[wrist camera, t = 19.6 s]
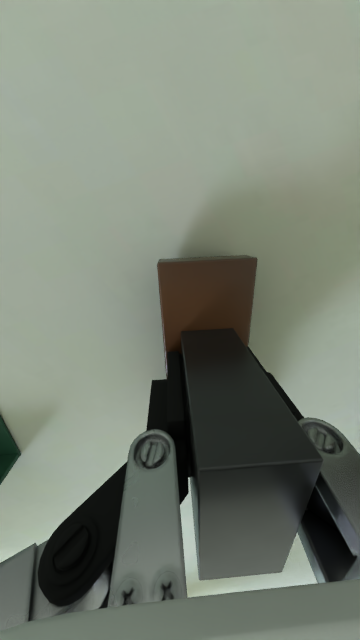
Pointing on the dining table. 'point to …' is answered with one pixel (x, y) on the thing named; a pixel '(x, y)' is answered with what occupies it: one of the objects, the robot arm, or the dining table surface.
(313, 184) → the dining table surface
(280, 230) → the dining table surface
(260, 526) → the brush
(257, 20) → the dining table surface
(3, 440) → the dustpan
